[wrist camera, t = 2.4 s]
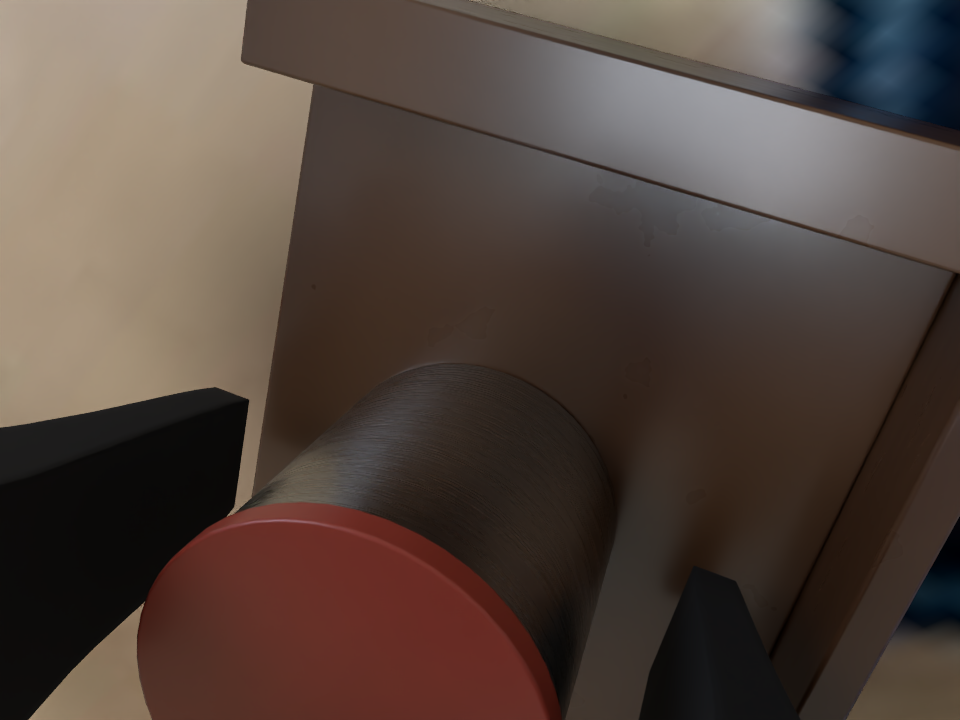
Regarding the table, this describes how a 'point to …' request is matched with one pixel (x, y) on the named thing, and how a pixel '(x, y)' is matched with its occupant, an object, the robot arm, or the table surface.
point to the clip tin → (396, 567)
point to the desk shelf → (641, 306)
